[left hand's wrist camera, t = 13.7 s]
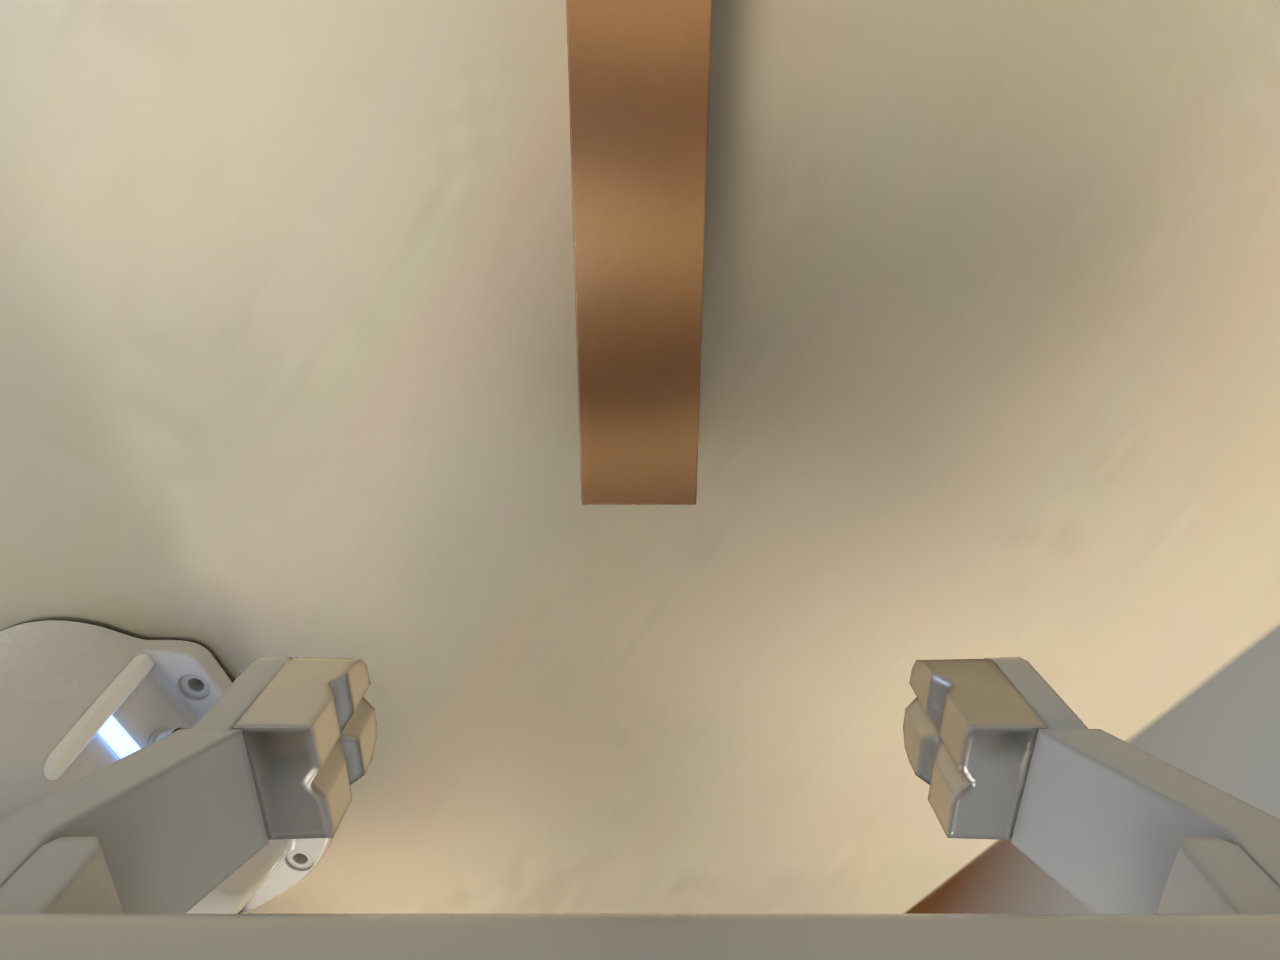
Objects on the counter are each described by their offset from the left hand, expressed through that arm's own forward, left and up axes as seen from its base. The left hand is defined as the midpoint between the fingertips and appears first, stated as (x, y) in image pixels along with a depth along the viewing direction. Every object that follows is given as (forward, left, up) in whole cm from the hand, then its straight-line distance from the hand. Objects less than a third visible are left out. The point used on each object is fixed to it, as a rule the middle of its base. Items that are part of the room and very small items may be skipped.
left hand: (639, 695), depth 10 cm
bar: (+8, -5, -24) cm, 26 cm away
